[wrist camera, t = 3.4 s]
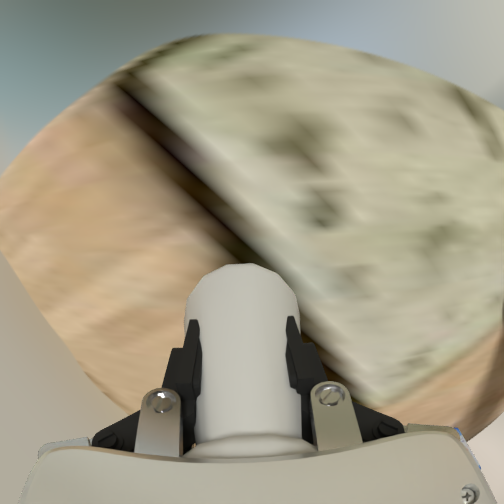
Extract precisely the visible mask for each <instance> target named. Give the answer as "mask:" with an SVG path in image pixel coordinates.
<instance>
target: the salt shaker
mask: <svg viewBox="0 0 504 504" xmlns="http://www.w3.org/2000/svg"><path fill="white" fill-rule="evenodd" d="M288 316H294V318H295V321H296V324H297V327H298V330H299V333H300V315H299V310H298V305H297V300H296V295H295V293H294V292H293V291H292V290H291V288H290V287H289V286H288V285H287V284H286V283H285V282H284V280H283V279H282V278H281V277H280V276H279V275H278V274H277V273H275V272H273V271H270V270H268V269H265V268H263V267H261V266H258V265H256V264H253V263H247V264H230V265H225V266H223V267H221V268H219V269H217V270H215V271H213V272H211V273H208V274H206V275H204V276H203V277H202V279H201V280H200V282H199V283H198V284H197V286H196V287H195V288H194V290H193V291H192V293H191V294H190V295H189V297H188V298H187V303H186V310H185V317H184V329H185V337H186V332H187V328H188V324H189V320H190V319H197V320H198V322H199V327H200V336H199V338H200V342H201V347H202V374H201V394H200V395H199V396H198V397H197V401H196V424H195V427H194V434H195V441H196V447H194V448H193V449H191V450H190V451H189V452H187V453H186V454H184V455H183V456H182V457H183V458H207V459H238V458H261V457H274V456H285V455H294V454H303V453H310V452H317V448H316V446H314V445H312V444H310V443H308V442H306V441H305V440H303V439H302V427H301V395H300V394H297V392H296V390H295V389H293V388H291V387H290V383H289V376H288V370H287V363H286V357H285V353H286V345H287V336H286V331H285V330H286V322H287V317H288Z"/></svg>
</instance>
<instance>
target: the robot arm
mask: <svg viewBox="0 0 504 504" xmlns="http://www.w3.org/2000/svg"><path fill="white" fill-rule="evenodd" d="M285 331H286V336H287V345H286V353H285V357H286V363H287V370H288V376H289V383H290V387H291V388H293V389H295V390H296V392H297V394H300V395H301V427H302V439H303V440H305V441H306V442H308V443H310V444H312V445H314V446H316V448H317V452H310V453H303V454H294V455H285V456H274V457H261V458H238V459H207V458H183V457H182V456H183V455H184V454H186V453H187V452H189V451H190V450H191V449H193V448H194V443H196V441H195V434H194V427H195V424H196V401H197V397H198V396H199V395H200V394H201V374H202V347H201V342H200V338H199V336H200V327H199V322H198V320H197V319H190V320H189V324H188V328H187V332H186V337H185V341H184V345H183V348H173V349H172V351H171V354H170V358H169V362H168V365H167V369H166V373H165V377H164V381H163V384H162V388H157V389H154V390H151V391H150V392H148V393H147V394H146V395H145V396H144V397H143V400H142V404H141V410H139V411H137V412H135V413H133V414H132V415H130V416H128V417H126V418H124V419H122V420H120V421H118V422H116V423H114V424H112V425H111V426H109V427H106V428H104V429H102V430H101V431H99V432H98V433H96V434H95V436H94V437H93V438H92V439H88V437H83V438H78V439H73V440H66V441H60V442H53V443H48V444H45V445H43V446H42V447H41V448H40V450H39V451H38V461H37V462H36V464H35V465H34V467H33V469H32V470H31V472H30V474H29V477H28V478H27V481H26V483H25V486H24V488H23V491H22V493H21V496H20V499H19V502H18V504H497V502H496V500H495V497H494V495H493V493H492V491H491V489H490V487H489V485H488V483H487V481H486V479H485V477H484V475H483V473H482V472H481V470H480V468H479V466H478V465H477V463H476V461H475V460H474V458H473V457H472V455H471V454H470V452H469V451H468V450H467V448H466V447H465V446H464V445H463V443H462V442H461V441H460V435H459V433H458V432H457V430H456V429H454V428H452V427H448V426H434V425H420V424H409V423H408V425H407V426H403V425H402V424H401V423H400V422H399V421H398V420H396V419H394V418H392V417H389V416H387V415H384V414H382V413H379V412H377V411H374V410H372V409H369V408H367V407H364V406H362V405H359V404H357V403H355V402H352V401H351V398H350V394H349V392H348V390H347V388H346V387H344V386H343V385H341V384H340V383H337V382H330V381H328V380H327V377H326V374H325V371H324V369H323V366H322V363H321V361H320V358H319V356H318V353H317V350H316V348H315V345H314V343H303V342H302V339H301V336H300V333H299V330H298V327H297V324H296V321H295V318H294V316H288V317H287V322H286V330H285Z"/></svg>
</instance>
